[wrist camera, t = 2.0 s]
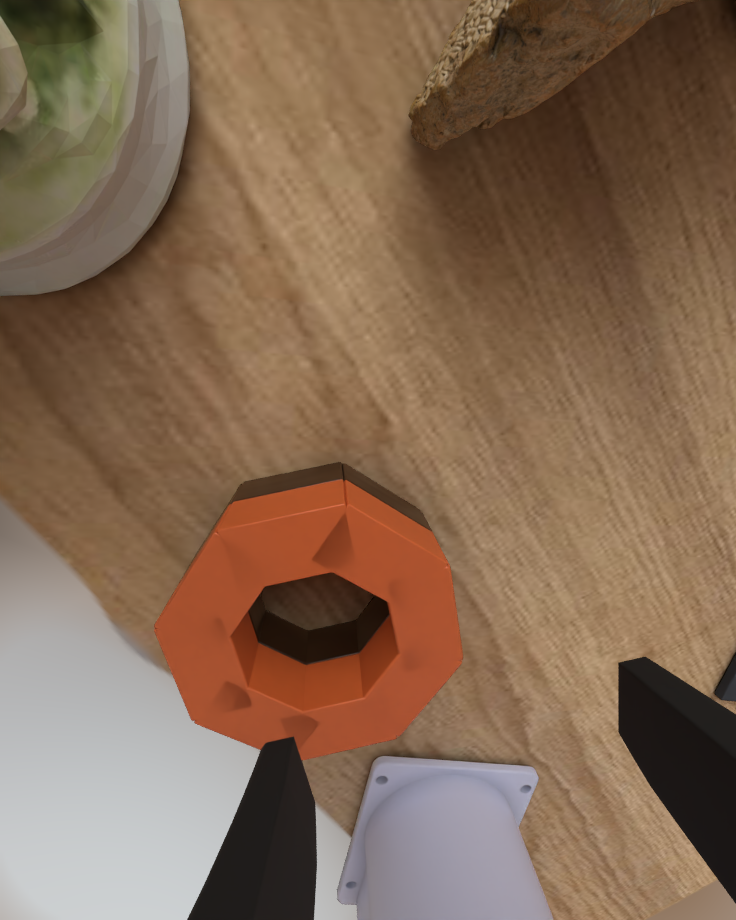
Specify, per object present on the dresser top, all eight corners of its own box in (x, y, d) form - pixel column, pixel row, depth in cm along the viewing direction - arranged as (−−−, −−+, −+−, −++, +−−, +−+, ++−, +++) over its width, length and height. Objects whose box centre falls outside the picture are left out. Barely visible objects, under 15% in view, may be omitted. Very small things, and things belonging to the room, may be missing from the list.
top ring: (415, 720, 16) (427, 771, 14) (166, 699, 15) (143, 752, 13) (481, 502, 14) (506, 529, 12) (190, 453, 13) (166, 475, 11)
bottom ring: (407, 683, 18) (415, 720, 16) (183, 661, 17) (167, 699, 15) (465, 483, 16) (482, 502, 14) (207, 438, 14) (190, 453, 13)
